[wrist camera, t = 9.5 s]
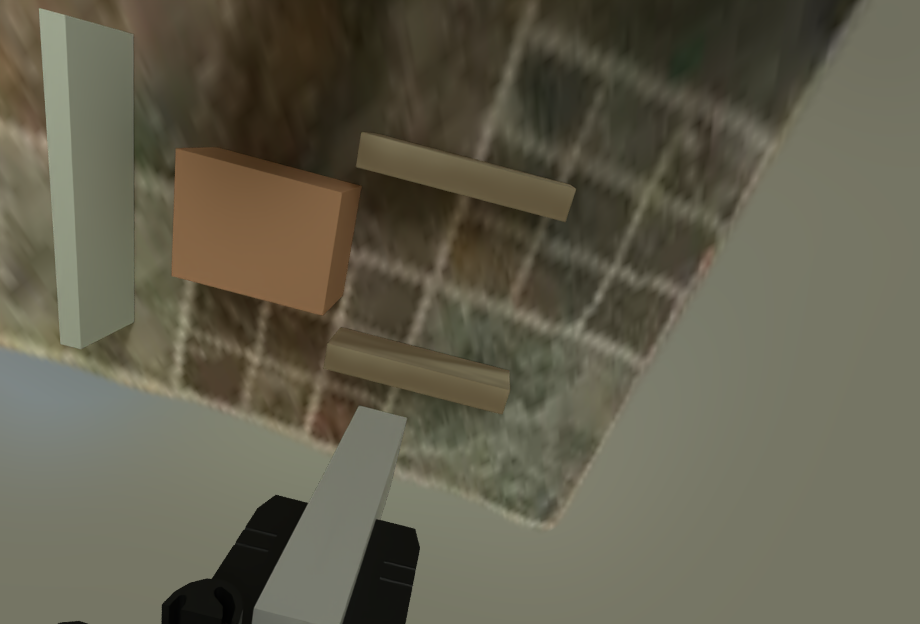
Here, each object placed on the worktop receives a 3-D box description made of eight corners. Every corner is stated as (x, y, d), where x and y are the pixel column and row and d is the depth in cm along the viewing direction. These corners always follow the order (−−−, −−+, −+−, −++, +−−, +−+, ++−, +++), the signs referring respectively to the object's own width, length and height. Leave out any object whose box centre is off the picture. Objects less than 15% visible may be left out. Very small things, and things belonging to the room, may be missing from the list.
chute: (373, 132, 31) (361, 132, 28) (569, 184, 31) (576, 189, 28) (336, 350, 36) (323, 368, 33) (501, 393, 36) (502, 414, 34)
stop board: (111, 28, 30) (39, 8, 25) (133, 34, 30) (65, 15, 25) (116, 317, 37) (60, 343, 32) (134, 322, 37) (80, 349, 32)
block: (218, 146, 32) (176, 148, 28) (362, 185, 32) (342, 192, 28) (211, 259, 35) (171, 276, 31) (344, 294, 35) (322, 315, 31)
